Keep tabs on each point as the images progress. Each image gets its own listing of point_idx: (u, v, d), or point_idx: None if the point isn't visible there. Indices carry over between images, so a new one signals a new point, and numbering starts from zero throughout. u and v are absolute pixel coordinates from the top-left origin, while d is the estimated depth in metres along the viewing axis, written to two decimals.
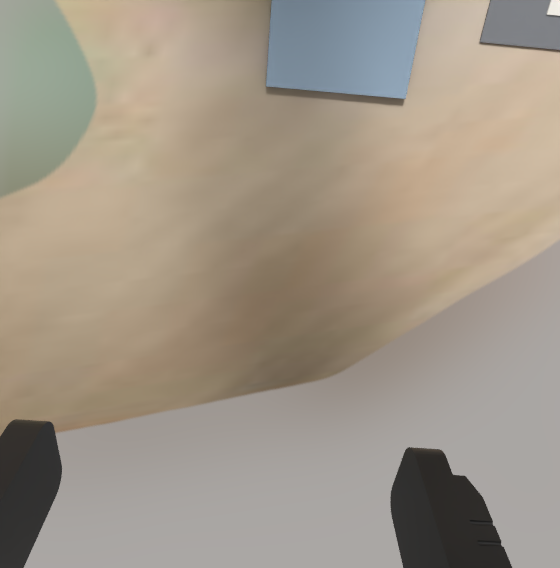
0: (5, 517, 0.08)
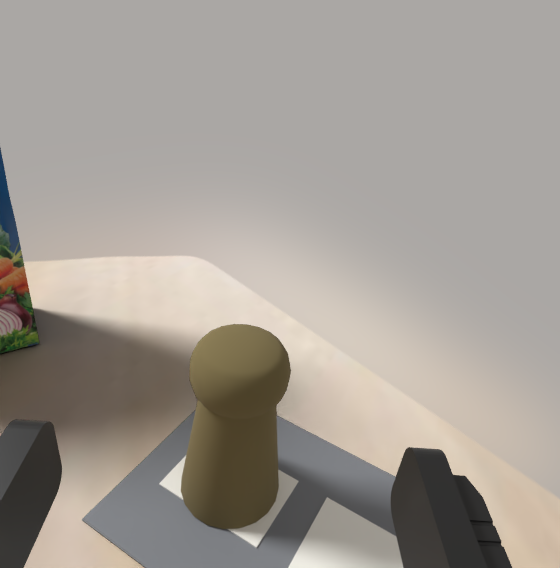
0: (4, 517, 0.08)
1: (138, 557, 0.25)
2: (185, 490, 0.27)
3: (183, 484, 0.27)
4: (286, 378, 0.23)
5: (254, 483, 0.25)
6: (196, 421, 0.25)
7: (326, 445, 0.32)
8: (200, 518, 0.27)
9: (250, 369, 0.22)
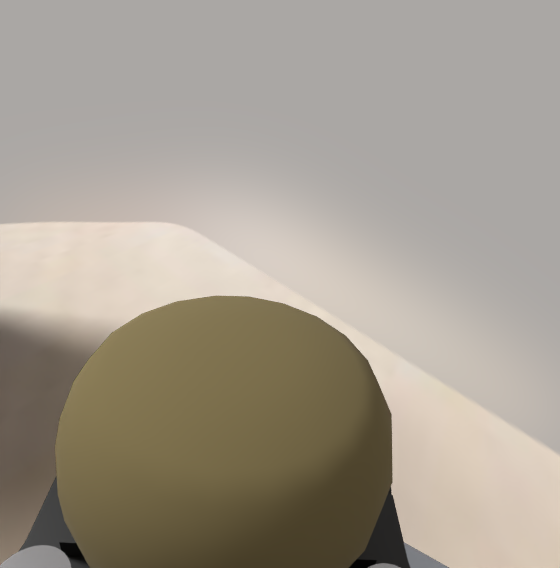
0: None
1: None
2: None
3: None
4: (390, 473, 0.07)
5: None
6: None
7: (414, 558, 0.16)
8: None
9: (267, 458, 0.05)
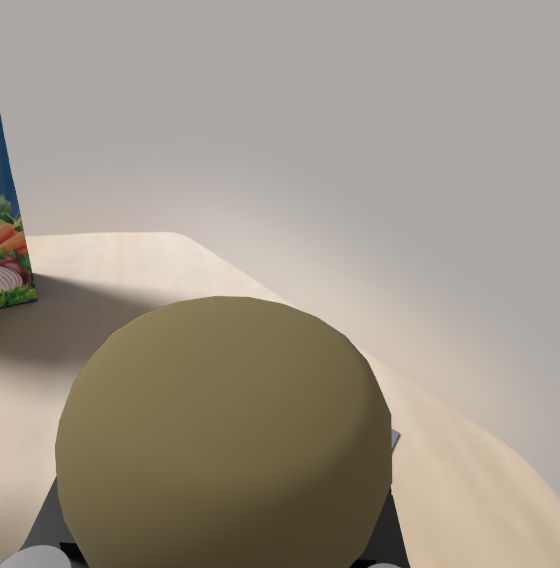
0: None
1: None
2: None
3: None
4: (390, 474, 0.07)
5: None
6: None
7: None
8: None
9: (267, 460, 0.05)
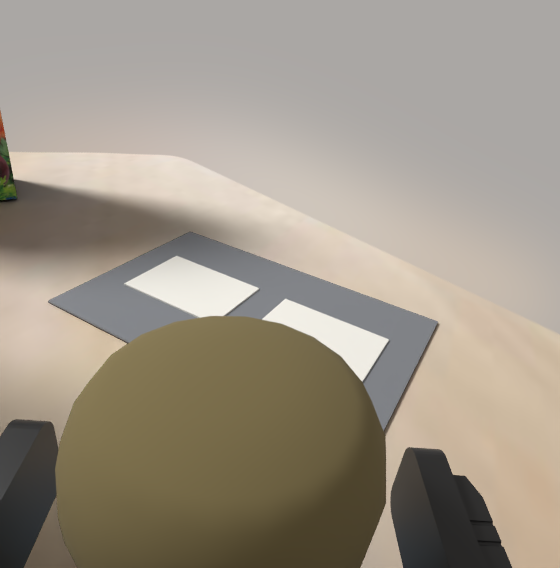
0: (4, 517, 0.08)
1: (100, 324, 0.26)
2: None
3: None
4: (383, 496, 0.07)
5: None
6: None
7: (289, 269, 0.34)
8: None
9: (262, 486, 0.06)
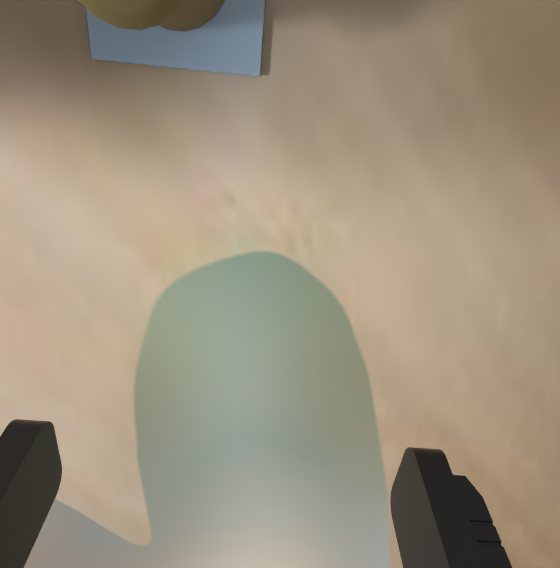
0: (4, 517, 0.08)
1: None
2: None
3: None
4: None
5: None
6: None
7: None
8: (175, 30, 0.27)
9: None
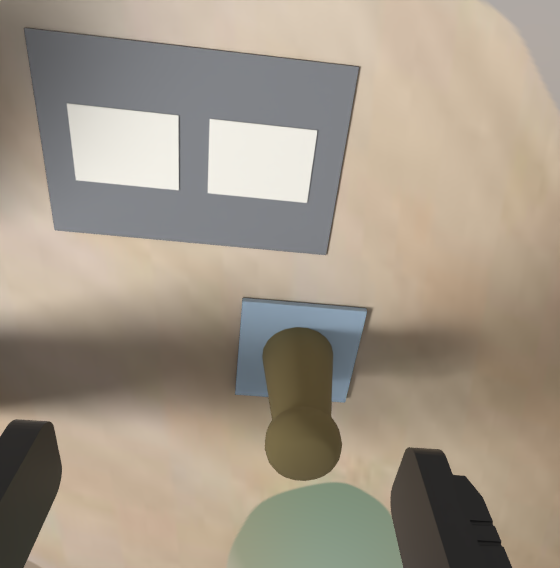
0: (5, 517, 0.08)
1: (111, 233, 0.34)
2: None
3: None
4: None
5: None
6: None
7: (183, 52, 0.28)
8: None
9: (320, 475, 0.31)
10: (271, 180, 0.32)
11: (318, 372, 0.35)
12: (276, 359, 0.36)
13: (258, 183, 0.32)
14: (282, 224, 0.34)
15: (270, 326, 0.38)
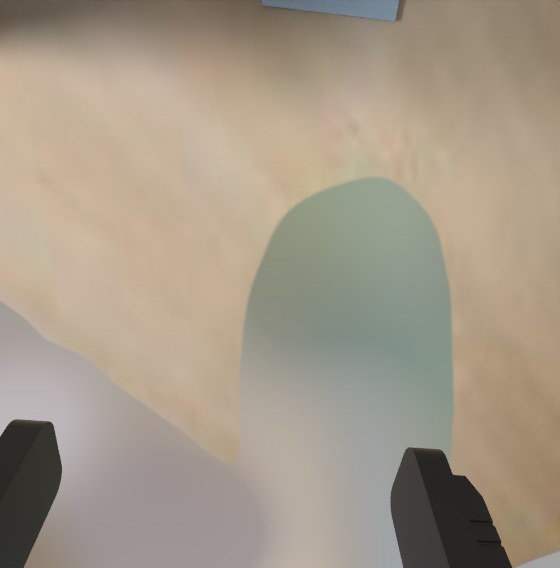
0: (4, 516, 0.08)
1: None
2: None
3: None
4: None
5: None
6: None
7: None
8: None
9: None
10: None
11: None
12: None
13: None
14: None
15: None
